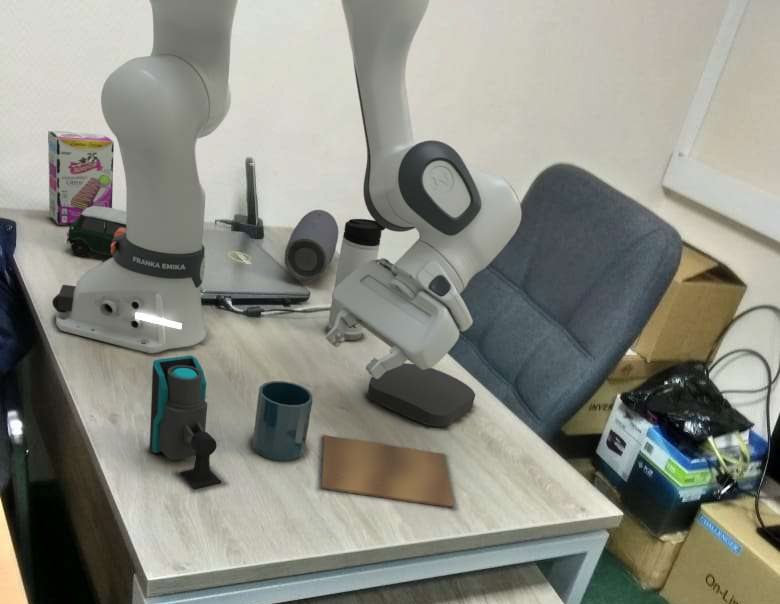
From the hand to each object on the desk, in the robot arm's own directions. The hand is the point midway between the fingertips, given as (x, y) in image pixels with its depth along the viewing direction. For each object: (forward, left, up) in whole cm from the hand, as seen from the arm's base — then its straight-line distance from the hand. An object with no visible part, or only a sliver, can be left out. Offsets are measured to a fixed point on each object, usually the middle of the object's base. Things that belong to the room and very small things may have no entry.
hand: (350, 357), depth 105 cm
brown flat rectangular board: (+7, -7, -12) cm, 16 cm away
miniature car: (-42, +56, -12) cm, 71 cm away
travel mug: (+1, +38, -12) cm, 40 cm away
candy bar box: (-53, +72, -12) cm, 90 cm away
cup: (-8, -5, -12) cm, 15 cm away
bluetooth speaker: (-6, +69, -12) cm, 70 cm away
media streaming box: (+13, +16, -12) cm, 24 cm away
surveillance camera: (-18, -13, -12) cm, 25 cm away
